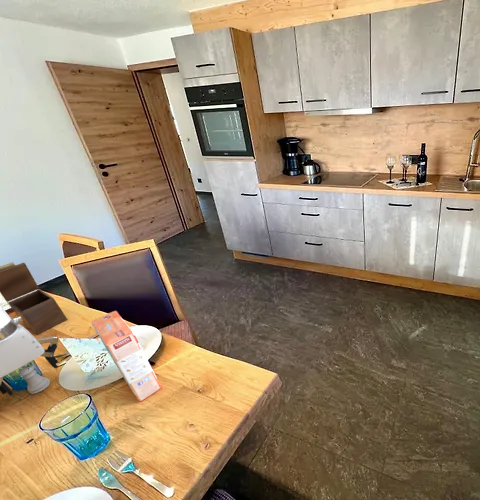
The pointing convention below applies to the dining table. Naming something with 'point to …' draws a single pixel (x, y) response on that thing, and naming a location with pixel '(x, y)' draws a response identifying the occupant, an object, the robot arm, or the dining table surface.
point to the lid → (16, 281)
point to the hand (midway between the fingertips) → (33, 378)
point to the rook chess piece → (33, 379)
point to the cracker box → (127, 354)
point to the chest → (38, 311)
